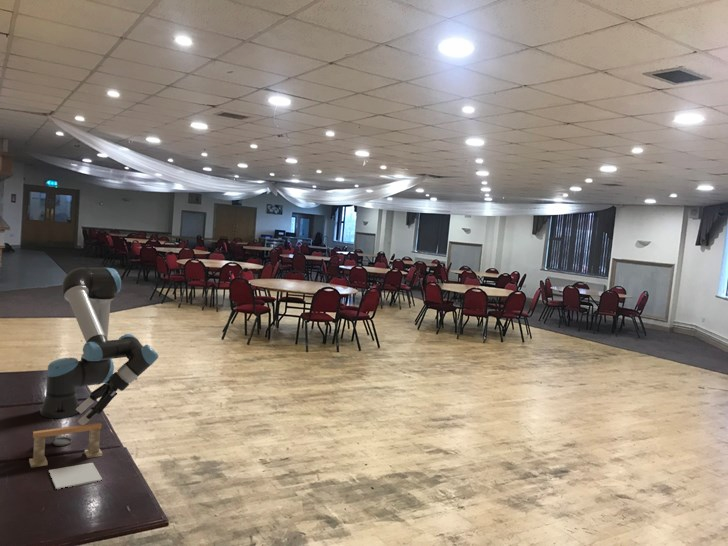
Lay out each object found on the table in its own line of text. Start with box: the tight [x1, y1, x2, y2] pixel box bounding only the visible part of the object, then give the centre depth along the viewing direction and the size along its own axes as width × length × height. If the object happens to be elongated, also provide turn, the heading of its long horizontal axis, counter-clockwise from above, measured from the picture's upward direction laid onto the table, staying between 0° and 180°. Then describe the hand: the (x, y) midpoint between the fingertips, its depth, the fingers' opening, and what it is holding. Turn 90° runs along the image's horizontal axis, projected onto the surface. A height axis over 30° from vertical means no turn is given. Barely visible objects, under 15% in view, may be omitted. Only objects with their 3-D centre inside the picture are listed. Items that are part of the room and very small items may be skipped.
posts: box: [28, 429, 103, 469], centre depth 200 cm, size 23×5×10 cm, turn 129°
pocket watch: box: [49, 418, 73, 446], centre depth 212 cm, size 8×8×10 cm
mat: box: [48, 462, 103, 490], centre depth 189 cm, size 14×14×1 cm
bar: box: [32, 422, 103, 439], centre depth 200 cm, size 22×2×2 cm, turn 129°
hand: (79, 417), depth 213 cm, fingers open, 13 cm apart
